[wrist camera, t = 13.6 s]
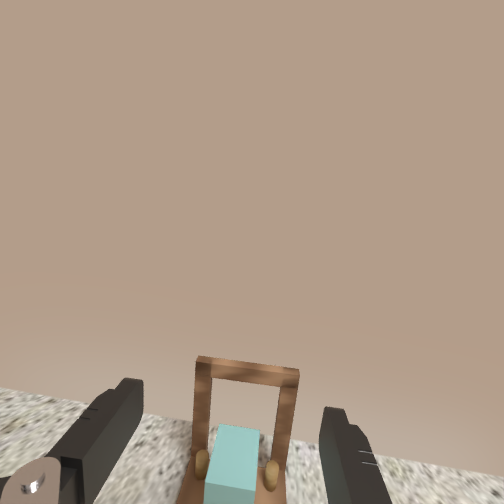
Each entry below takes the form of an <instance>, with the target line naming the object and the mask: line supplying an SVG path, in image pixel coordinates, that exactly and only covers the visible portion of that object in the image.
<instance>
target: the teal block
mask: <svg viewBox="0 0 504 504" xmlns="http://www.w3.org/2000/svg"><path fill="white" fill-rule="evenodd" d="M259 435H260V430H256V429H250V428H243V427H237V426H231V425H225V424H219V428H218V432H217V436H216V440H215V444H214V448H213V452H212V456H211V460H210V464H209V468H208V472H207V476H206V480H205V488H204V503H203V504H254V499H255V490H256V476H257V463H258V449H259Z"/></svg>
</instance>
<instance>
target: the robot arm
mask: <svg viewBox="0 0 504 504" xmlns="http://www.w3.org/2000/svg"><path fill="white" fill-rule="evenodd" d="M142 414H143V381H142V380H139V379H132V378H124V379H123V380H122V381H121V382H120V383H119V385H118V386H117V387H116V388H115V390H114V389H108V390H107V391H105V392H104V393H102V394H101V395H99V396H98V397H96V399H95V400H94V401H93V402H92V403H91V404H90V405H89V407H88V408H87V410H85V411H84V412H83V413H82V415H81V416H80V417H79V419H77V420H76V421H75V423H74V424H73V425H72V426H71V427H70V428H69V429H68V431H67V432H66V433H65V434H64V435H63V436H62V438H61V439H60V440H59V441H58V442H57V443H56V444H55V446H54V447H53V448H52V449H51V450H50V451H49V452H48V454H47V455H46V456H45V457H43V458H39V459H36V460H33V461H31V462H29V463H27V464H26V465H24V466H23V467H21V468H20V469H19V470H17V471H16V472H15V473H14V474H13V475H12V476H9V477H4V478H0V504H93V502H94V500H95V499H96V497H97V495H98V494H99V492H100V490H101V488H102V487H103V485H104V483H105V482H106V480H107V478H108V476H109V475H110V473H111V471H112V470H113V468H114V466H115V464H116V463H117V461H118V459H119V458H120V456H121V454H122V452H123V451H124V449H125V447H126V446H127V444H128V442H129V440H130V439H131V437H132V435H133V434H134V432H135V430H136V428H137V427H138V425H139V423H140V421H141V418H142ZM319 453H320V459H321V464H322V470H323V475H324V481H325V486H326V492H327V498H328V503H329V504H392V501H391V499H390V496H389V494H388V491H387V488H386V486H385V483H384V481H383V478H382V475H381V473H380V470H379V468H378V466H377V463H376V460H375V457H374V455H373V454H372V450H371V447H370V444H369V442H368V439H367V437H366V436H365V435H364V433H363V432H362V431H361V430H360V428H359V427H358V426H357V425H351V424H349V422H348V419H347V416H346V413H345V411H344V409H340V408H333V407H325V408H324V412H323V418H322V423H321V429H320V434H319Z"/></svg>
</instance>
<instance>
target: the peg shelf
mask: <svg viewBox="0 0 504 504" xmlns="http://www.w3.org/2000/svg"><path fill="white" fill-rule="evenodd" d="M299 377H300V374H299V369H295V368H287V367H280V366H272V365H264V364H257V363H249V362H242V361H235V360H227V359H219V358H212V357H205V356H198V358H197V360H196V368H195V388H194V409H193V427H192V447H191V458H190V461H189V464H188V468H187V471H186V474H185V477H184V480H183V484H182V487H181V490H180V493H179V496H178V500H177V503H176V504H203V503H204V488H205V480H206V476H207V472H208V468H209V464H210V460H211V459H209V453H208V451H207V449H208V434H209V419H210V404H211V389H212V378H219V379H227V380H233V381H241V382H248V383H255V384H263V385H269V386H277V387H280V394H279V401H278V408H277V415H276V423H275V430H274V437H273V444H272V452H271V459H270V461H268V462H267V464H266V468H262V467H257V476H256V490H255V499H254V504H286V484H285V468H286V461H287V455H288V448H289V442H290V435H291V429H292V422H293V416H294V410H295V403H296V397H297V390H298V384H299Z"/></svg>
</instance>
